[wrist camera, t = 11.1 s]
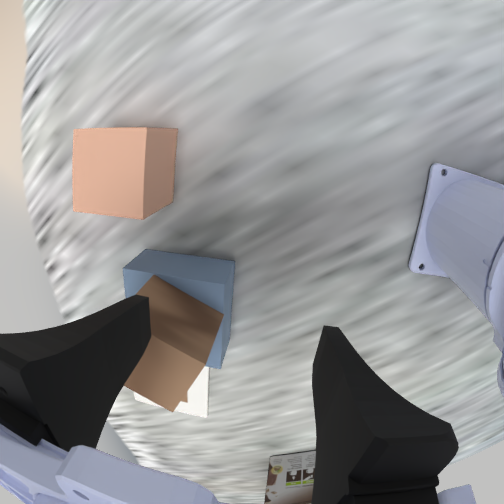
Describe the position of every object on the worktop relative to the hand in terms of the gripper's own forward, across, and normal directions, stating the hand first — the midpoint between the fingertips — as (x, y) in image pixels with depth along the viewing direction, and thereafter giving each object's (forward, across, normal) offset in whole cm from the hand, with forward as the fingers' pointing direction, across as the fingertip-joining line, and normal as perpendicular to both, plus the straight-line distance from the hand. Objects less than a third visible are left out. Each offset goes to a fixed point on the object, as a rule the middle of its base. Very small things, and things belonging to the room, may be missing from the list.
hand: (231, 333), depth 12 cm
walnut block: (+7, +5, +5) cm, 10 cm away
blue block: (+11, +5, +5) cm, 13 cm away
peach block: (+10, +9, -5) cm, 15 cm away
